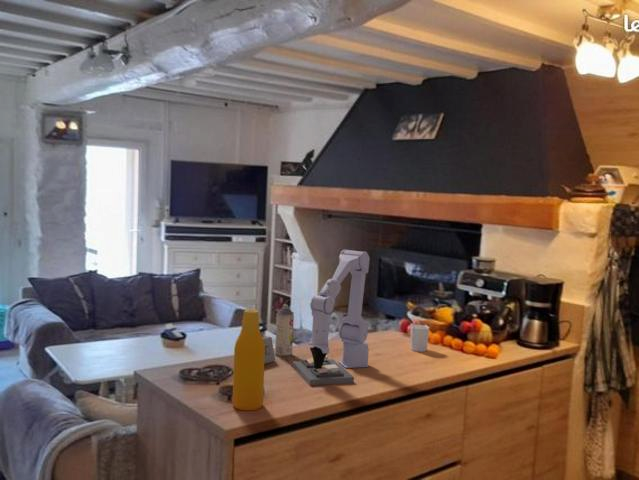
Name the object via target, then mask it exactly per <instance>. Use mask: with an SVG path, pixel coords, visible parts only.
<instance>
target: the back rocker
mask: <svg viewBox="0 0 639 480" xmlns="http://www.w3.org/2000/svg"><path fill="white" fill-rule="evenodd" d="M328 359H329V357H328V354H327V355H326V357H325V359H324V361H325V360H328ZM306 360H307V363H308V364H309V365H314V361H313V357H310V358H309V359H306Z"/></svg>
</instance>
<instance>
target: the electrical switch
mask: <svg viewBox="0 0 639 480" xmlns="http://www.w3.org/2000/svg"><path fill="white" fill-rule="evenodd" d="M262 338H263V341H264V344H265V361H264V365H265V364H269V363H272V362H275V361H276V355H275V348H274V345H273V340H272V339H273V338H272V337H271V336H268V337H262Z"/></svg>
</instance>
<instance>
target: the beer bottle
mask: <svg viewBox="0 0 639 480" xmlns="http://www.w3.org/2000/svg"><path fill="white" fill-rule="evenodd" d="M259 319H260V318H259V310H257V309H245V310H243V317H242V325H241V329H240V333H239V335H238V337H237V338H236V340H235V344H234V349H233V353H234V354H233V377H232V378H233V380H232V381H233V382H232V401H231V402H232V405H233V407H234V408H235V409H236V410H240V411H255V410H259V409H260V408H262V407H263V404H264V381H265V364H264V361H265V344H264V341H263V338H264V337H263V335H262V333H261V330H260V329H261V328H260V320H259Z"/></svg>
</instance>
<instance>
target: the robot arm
mask: <svg viewBox="0 0 639 480" xmlns="http://www.w3.org/2000/svg"><path fill="white" fill-rule="evenodd" d="M369 267H370V256H369V254H368V252H367V251H358V250H353V249H352V250H350V249H347V248H346V249H343V250H341V252H340V254H339V256H338V265H337V268H336V269H335V271H334V273H333V276H332V277H331V278H329V279H327V280H326V282H325V283H324V285H323V286H322V288H321V290H320V291H319V292H318V294H316V295H314V296H312V298H311V302H310V304H309V306H310V310H311V316H312V328H311V337H310V341H308V342H307V344H308V345H309V346H312V347H309V350H310V352H311V355H312V356H311V357H312V358H313V361H314V367H315V369H319V368H322V365H323V362H324V359H325V357H326V355H327V356H328V354H329V352H330V347H329V334H330V332H329V329H330V316H331V313H332V312H333V310H334V308H335V303H336V298H337V296H338V295H339V293H340V291H341V289H342V286H341V284H342V282H343V280H344V279H345V278H346V277H347V276H348V274H349V273H350V274H351V281H350V290H349V299H348V309H347V316H345V317H344V318H342V319H341V322H340V326H339V329H338V336H339V338H340V339H341V342H342V357H341V358H342V359H341V360H338V361H337V363H338V364H339V365H340V366H341V367H342V366H343V368H344V369H350V368H351V369H352V368H353V369H354V368H369V345H368V343H367V341H366V340H367V339H368V335H369V334H368V332H369V331H368V322H367V321H366V320H364V318H363V317H362V310H363V302H364V301H363V300H364V293H365V283H366V275H367V274H369Z"/></svg>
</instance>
